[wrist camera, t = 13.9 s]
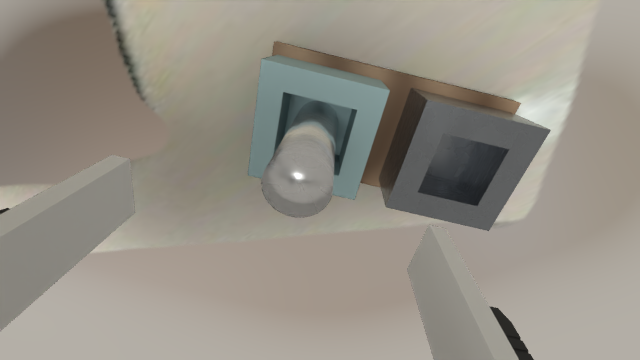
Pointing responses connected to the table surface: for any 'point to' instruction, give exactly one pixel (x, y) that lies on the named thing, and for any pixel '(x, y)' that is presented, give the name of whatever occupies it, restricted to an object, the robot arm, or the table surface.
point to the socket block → (456, 159)
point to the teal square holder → (317, 85)
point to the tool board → (391, 98)
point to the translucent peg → (303, 163)
